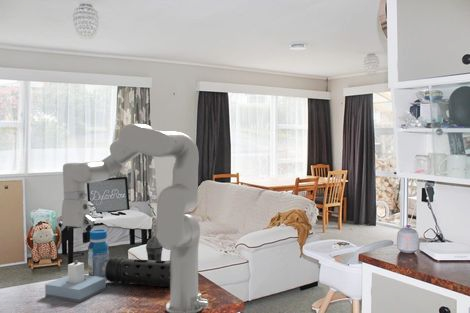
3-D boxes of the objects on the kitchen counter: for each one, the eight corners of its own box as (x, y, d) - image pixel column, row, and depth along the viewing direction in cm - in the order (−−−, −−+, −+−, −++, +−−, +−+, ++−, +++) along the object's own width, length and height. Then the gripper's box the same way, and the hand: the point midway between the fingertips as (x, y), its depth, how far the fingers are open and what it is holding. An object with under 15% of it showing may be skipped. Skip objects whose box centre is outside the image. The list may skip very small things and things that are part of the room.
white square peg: (84, 289, 156) (83, 259, 155) (76, 292, 152) (76, 262, 152) (76, 287, 157) (75, 258, 157) (68, 291, 154) (67, 261, 153)
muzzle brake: (168, 291, 156) (168, 264, 155) (100, 287, 161) (100, 260, 161) (177, 283, 165) (176, 257, 165) (112, 279, 171) (112, 254, 170)
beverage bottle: (102, 283, 165) (101, 233, 165) (83, 281, 168) (82, 232, 167) (113, 276, 174) (112, 229, 173) (95, 274, 176) (95, 228, 175)
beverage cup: (142, 275, 174) (142, 228, 174) (151, 270, 181) (150, 225, 181) (158, 277, 172) (157, 229, 172) (166, 271, 179) (165, 226, 179)
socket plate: (106, 289, 158) (105, 277, 158) (79, 302, 145) (79, 289, 145) (73, 284, 164) (73, 273, 164) (45, 296, 151) (45, 284, 151)
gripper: (100, 195, 154) (101, 240, 154) (64, 194, 160) (65, 238, 161) (85, 197, 147) (87, 245, 147) (49, 196, 153) (50, 242, 154)
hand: (76, 241), depth 154 cm, fingers open, 9 cm apart
